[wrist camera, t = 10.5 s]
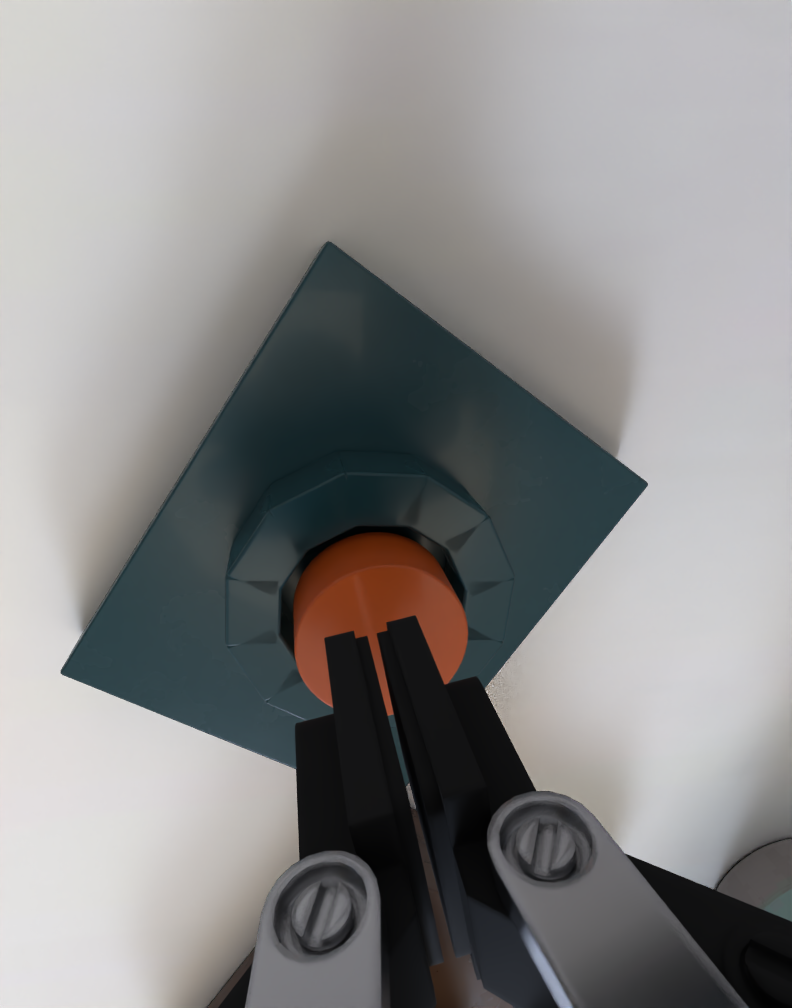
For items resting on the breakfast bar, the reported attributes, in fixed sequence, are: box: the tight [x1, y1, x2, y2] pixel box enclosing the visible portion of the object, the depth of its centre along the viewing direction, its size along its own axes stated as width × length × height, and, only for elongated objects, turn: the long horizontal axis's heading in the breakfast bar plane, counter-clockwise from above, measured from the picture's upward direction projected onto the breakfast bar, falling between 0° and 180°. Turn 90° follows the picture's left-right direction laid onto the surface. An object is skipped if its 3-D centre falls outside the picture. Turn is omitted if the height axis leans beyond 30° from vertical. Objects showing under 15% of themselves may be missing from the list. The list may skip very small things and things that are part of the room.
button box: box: [61, 241, 648, 787], centre depth 15 cm, size 12×10×4 cm
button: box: [293, 532, 468, 715], centre depth 13 cm, size 4×4×2 cm
